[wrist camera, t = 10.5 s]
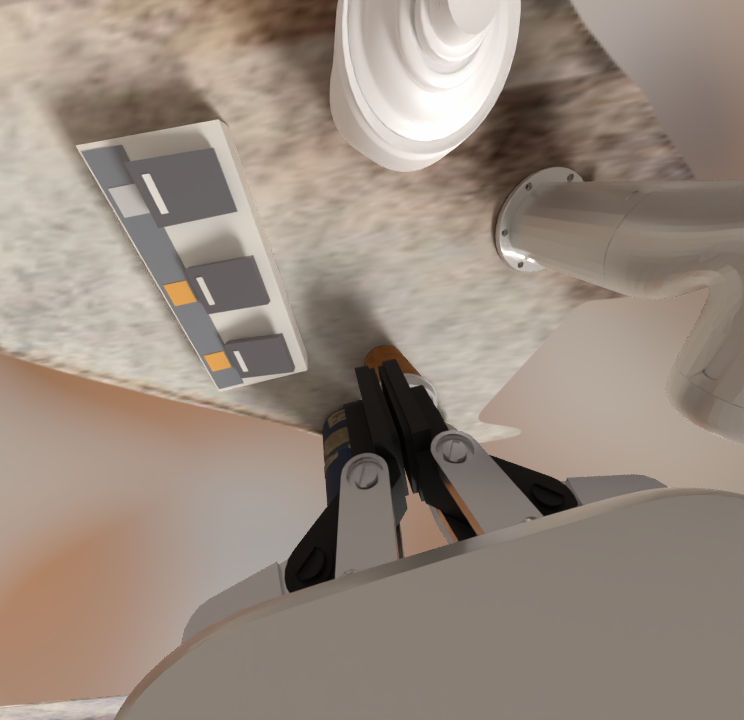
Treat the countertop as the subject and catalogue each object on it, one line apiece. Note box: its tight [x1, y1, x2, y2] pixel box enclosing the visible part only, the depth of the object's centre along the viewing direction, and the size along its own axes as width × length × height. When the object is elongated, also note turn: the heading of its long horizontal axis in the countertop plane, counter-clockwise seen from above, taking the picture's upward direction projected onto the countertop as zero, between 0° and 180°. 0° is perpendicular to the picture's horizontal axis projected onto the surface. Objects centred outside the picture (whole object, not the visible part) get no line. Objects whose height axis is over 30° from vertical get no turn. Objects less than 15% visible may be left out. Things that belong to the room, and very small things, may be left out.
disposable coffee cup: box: [364, 346, 437, 408], centre depth 41 cm, size 10×10×12 cm
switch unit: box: [75, 119, 308, 392], centre depth 34 cm, size 12×27×5 cm, turn 10°
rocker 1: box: [124, 148, 238, 228], centre depth 26 cm, size 7×5×1 cm
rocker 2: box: [224, 333, 295, 378], centre depth 36 cm, size 7×5×1 cm
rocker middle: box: [184, 255, 270, 314], centre depth 31 cm, size 7×5×1 cm
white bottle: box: [330, 0, 521, 171], centre depth 19 cm, size 12×11×25 cm
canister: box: [323, 409, 352, 506], centre depth 44 cm, size 10×10×18 cm
